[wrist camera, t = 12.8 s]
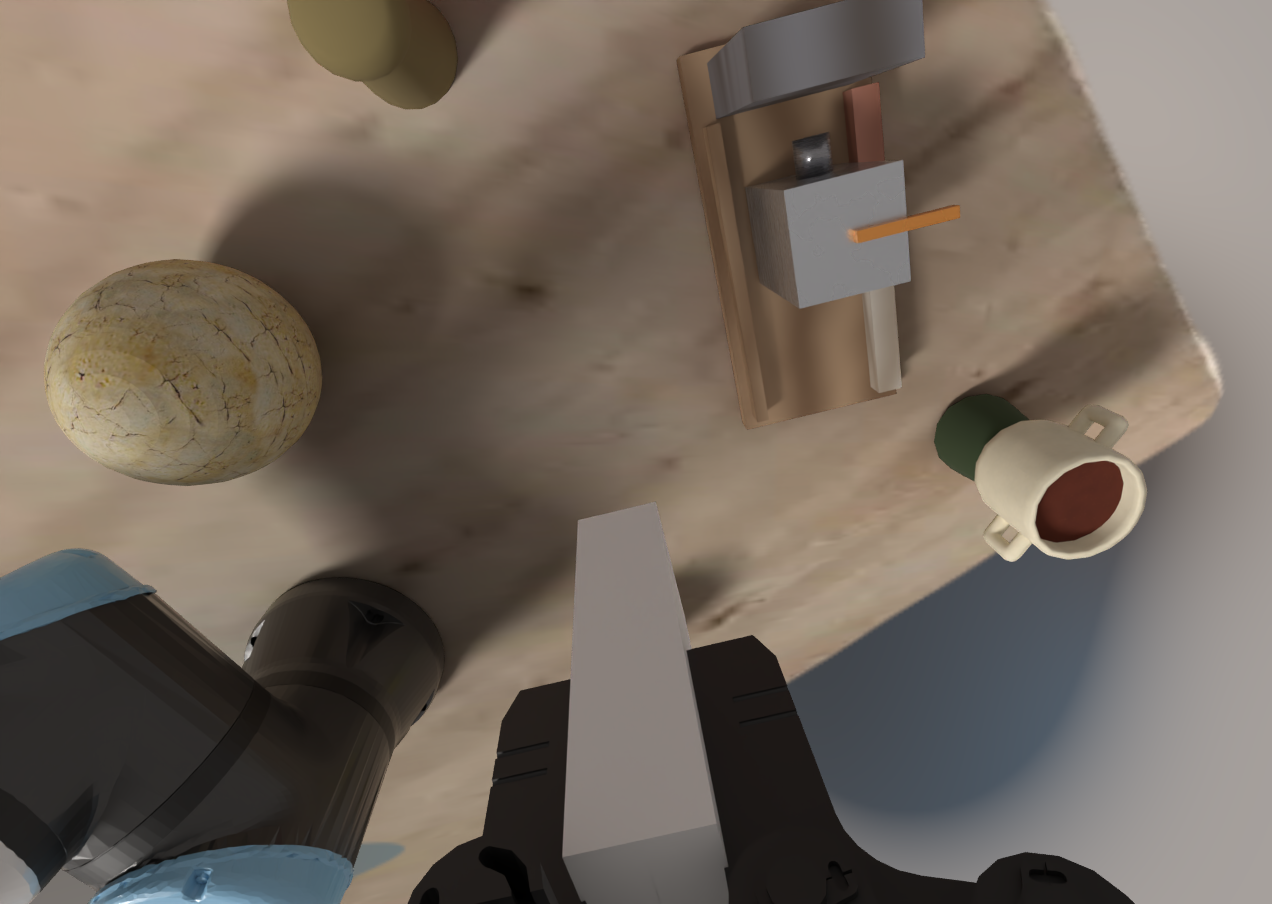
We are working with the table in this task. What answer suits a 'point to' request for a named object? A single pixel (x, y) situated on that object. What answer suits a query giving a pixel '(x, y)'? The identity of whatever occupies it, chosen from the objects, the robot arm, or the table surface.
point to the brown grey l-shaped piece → (762, 151)
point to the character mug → (1044, 476)
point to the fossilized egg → (182, 373)
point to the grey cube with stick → (834, 226)
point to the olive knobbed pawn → (381, 46)
